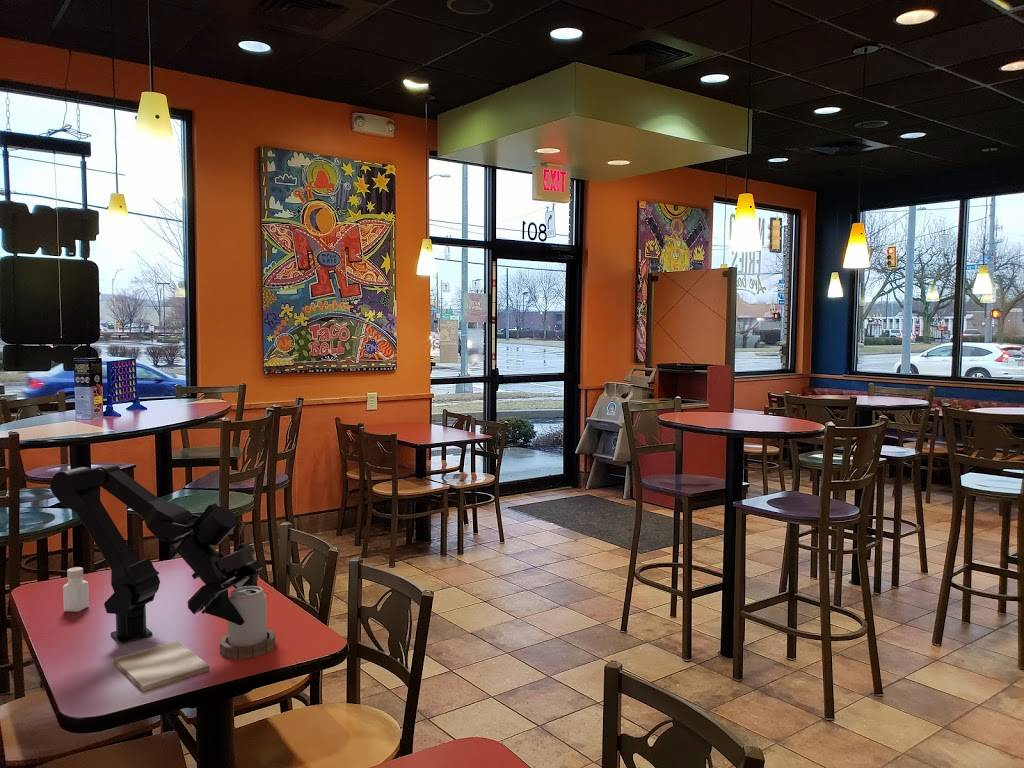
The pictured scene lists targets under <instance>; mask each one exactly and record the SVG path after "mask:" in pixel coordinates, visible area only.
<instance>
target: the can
mask: <svg viewBox="0 0 1024 768" xmlns="http://www.w3.org/2000/svg"><path fill="white" fill-rule="evenodd" d="M263 591H264V589H263V588H262V587H260V586H244V587H240V588H234V589H232V590H231V592H230V595H229V600H230V602H231V603H232V604H233V606H234V607H235V608H236V610H237V611H238V612H239V614H240V615H241V617H242V618H243V620H244V623H243V624H242V625H238V624H235V623H233V622H230V621H227V634H228V645H230V646H237V647H243V646H253V645H256V644H259V643H262V642H264V641H266V640H267V629H268V622H267V621H268V618H267V616H268V615H267V609H268V608H267V595H266V594H265V593H264V592H263Z"/></svg>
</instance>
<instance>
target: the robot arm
mask: <svg viewBox="0 0 1024 768" xmlns="http://www.w3.org/2000/svg"><path fill="white" fill-rule="evenodd" d="M51 478H52V479H51V482H50V484H49V487H50V491H51V494H53V495H54V497H55V498H56V499H57V500H58V502H60V504H61V505H62V506H64V507H66V508H67V509H69V510H71V511H73V512H75V513H76V515H77V516H78V517H79V519H80V521H81V522H82V524H83V525H84V528H85V529H86V531H87V532H88V534H89V535H90V537H91V539H92V541H93V542H94V543H95V545H96V547H97V548H98V550H99V552H100V554H101V555H102V557H103V559H104V561H106V564H107V565H108V567H109V568H110V571H111V572H110V573H111V574H110V583H111V584H110V585H111V588H112V590H113V593H112V594H111V595H110V597H109V598H108V599H107V600H105V602H104V603H103V606H104V609H105V612H106V614H114V615H115V630H114V631H111V632H110V637H112V638H113V639H114V640H115V641H116V642H117V643H119V644H123V643H124V644H125V643H127V642H131V641H135V640H139V639H144V638H146V637H150V636H152V635H153V631H152V630H150V629H149V628H148V627H147V609H146V608H147V607H146V605H147V604H148V603H150V602H153V601H154V599H155V598H156V597H155V596H156V594H157V593H158V591H159V588H160V584H161V580H160V577H159V574H160V572H159V571H158V570H156V568H155V567H154V564H153V562H152V560H151V559H150V558H145V559H143V560H141V559H140V558H138V557H136V556H135V554H134V553H133V551H132V550H131V548H130V546H129V545H128V544H127V542H126V540H125V539H124V537H123V535H122V534H121V532H120V530H119V529H118V527H117V525H116V523H114V521H113V519H112V518H111V516H110V514H109V512H108V511H107V509H106V507H105V506H104V504H103V503H102V500H101V488H102V489H104V490H105V491H106V492H108V493H109V494H110V495H112V496H113V497H114V498H115V499H117V500H118V501H120V502H121V503H122V504H124V505H125V506H127V508H129V509H130V510H131V511H132V512H135V514H137V515H138V516H140V517H141V518H142V519H143V520H144V523H145V526H146V529H147V530H148V531H149V532H150V534H152V535H153V536H154V537H155V538H156V539H157V540H158V541H160V542H162V543H169V542H172V541H175V540H177V539H180V538H181V540H180V541H179V542H176V543H173V544H170V545H169V547H170V548H169V549H170V550H169V551H170V552H169V554H168V555H169V556H168V559H170V560H173V559H175V558H178V557H181V558H182V560H184V562H185V563H186V564H187V565H188V566H189V568H190V569H191V570H192V571H193V574H192V575H191V578H192V579H193V580H197V579H200V581H202V582H203V584H204V585H202V586H201V587H200V588H199V589H198V590H197V591H196V592H195V593H194V594H193V595H192V596H191V597H190V598H189V599H188V600H187V609H188V610H189V611H190V612H191V613H192V614H193V615H196V614H197V613H200V612H201V614H203V615H204V614H206V615H207V614H208V615H210V616H214V617H216V618H220V619H222V620H226V622H228V621H230V622H233V623H235V624H238V625H242V624H243V623H244V620H243V618H242V617H241V615H240V614H239V612H238V611H237V610H236V608H235V607H234V606H233V604H232V603H231V602H230V600H229V597H230V595H229V589H231V587H233V588H234V589H236V588H240V587H244V586H258V578H259V575H260V574H261V573H260V571H261V570H262V569H263V568H264V567H263V565H262V564H261V563H260V562H259V561H258V560H257V559H256V560H255V558H254V555H255V552H256V550H255V547H253V546H252V545H251V544H249V543H248V542H247V541H245V542H243V543H241V544H239V545H237V546H236V551H234V552H232V553H230V554H227V552H226V551H223V550H221V551H220V552H218V551H217V550H216V548H214V546H218V545H219V544H221V542H223V540H224V539H225V538H227V536H229V534H230V533H231V532H232V531H233V530H234V529H235V528H236V526H238V518H237V517H236V515H235V514H234V512H233V511H232V510H231V511H230V510H229V509H227V508H225V507H223V506H220V505H218V504H217V503H216V502H214V503H210V504H209V505H208V506H206V507H205V509H204V511H203V513H201V514H200V515H199V514H195V513H192V512H191V511H190V510H189V509H187V508H185V507H182V506H181V505H179V504H177V503H173V502H168V501H165V500H163V499H162V498H161V499H160V498H159V497H158V496H157V495H155V494H154V493H152V492H151V491H149V490H148V489H147V488H146V487H144V486H143V485H142V484H140V483H139V482H137V481H136V480H135V479H133V478H132V477H131V476H129V475H128V474H127V473H125V472H124V471H123V470H122V469H121V467H120V466H119V465H117V464H107V465H104V466H99V467H96V468H94V469H92V468H91V467H86V466H79V467H75V468H72V469H70V468H69V469H67V470H62V471H58V472H56V473H54V475H53V476H52V477H51ZM192 531H193V532H192ZM191 532H192V533H191ZM190 533H191V534H190ZM182 537H183V538H182ZM258 587H259V586H258Z"/></svg>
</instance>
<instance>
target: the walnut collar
mask: <svg viewBox="0 0 1024 768" xmlns="http://www.w3.org/2000/svg"><path fill="white" fill-rule="evenodd" d="M275 646H276V632H275V631H273V630H271V629H270V628H267V640H266V641H264V642H262V643H259V644H256V645H253V646H243V647H237V646H230V645H228V633H227V634H225V635H223V636H222V637H221V638H220V641H219V654H221V655H222V656H223V657H225V658H229V659H234V660H235V659H237V660H238V659H239V660H241V659H251V658H256V657H260V656H261V655H265V654H268V653H269V652H270V651H272V650H273V649H275Z"/></svg>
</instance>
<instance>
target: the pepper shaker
mask: <svg viewBox="0 0 1024 768" xmlns="http://www.w3.org/2000/svg"><path fill="white" fill-rule="evenodd" d="M66 573H67V574H66V575H67V577H66V578H67V583H65V584H64V585H63V586H62V593H63V594H62V596H63V597H62V598H63V599H62V600H63V610H64V612H75V613H77V612H78V613H79V612H81V611H83V610H85V609H86V608H89V606H90V594H89V593H90V592H89V590H90V589H89V582H88V581H87V580H84V568H83V567H80V566H76V567H71V568H68V569H67V570H66Z"/></svg>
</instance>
